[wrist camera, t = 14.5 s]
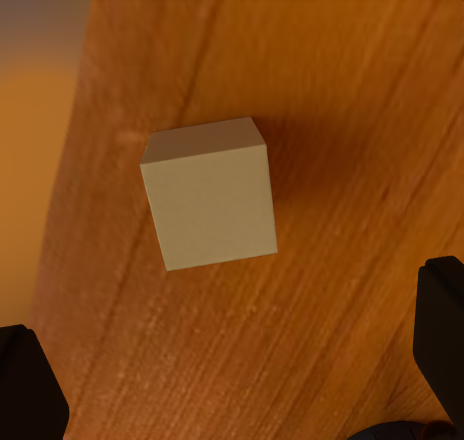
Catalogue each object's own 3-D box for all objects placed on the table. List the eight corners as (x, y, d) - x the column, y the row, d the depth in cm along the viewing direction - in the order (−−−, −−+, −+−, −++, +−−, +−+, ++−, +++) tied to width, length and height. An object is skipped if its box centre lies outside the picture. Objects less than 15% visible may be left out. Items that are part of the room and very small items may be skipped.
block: (171, 221, 23) (166, 271, 18) (151, 132, 21) (139, 164, 16) (262, 206, 23) (278, 253, 18) (250, 116, 21) (266, 144, 16)
